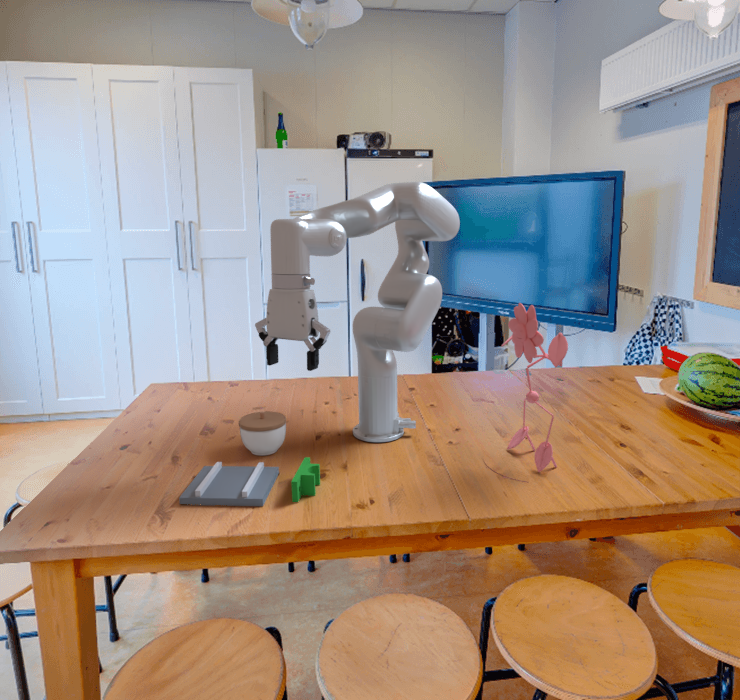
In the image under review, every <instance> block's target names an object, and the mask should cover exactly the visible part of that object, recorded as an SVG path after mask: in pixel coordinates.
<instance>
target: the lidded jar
mask: <svg viewBox="0 0 740 700" xmlns="http://www.w3.org/2000/svg"><path fill="white" fill-rule="evenodd" d="M238 426H239V434H240V438H241V441H242V443H243V446H245V448H246V449H247V450H248V451H250V452H251V454H252V455H254V456H263V457H264V456H270V455H272V454H275V453H276V452H278V450H279V449H280V447H281V446H282V445H283V443H284V441H285V438H286V434H287V417H286V415H285V414H284V413H281V412H278V411H258V412H257V411H255V412H252V413H248V414H246V415H244V416H241V417H240V419H239V420H238Z"/></svg>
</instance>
